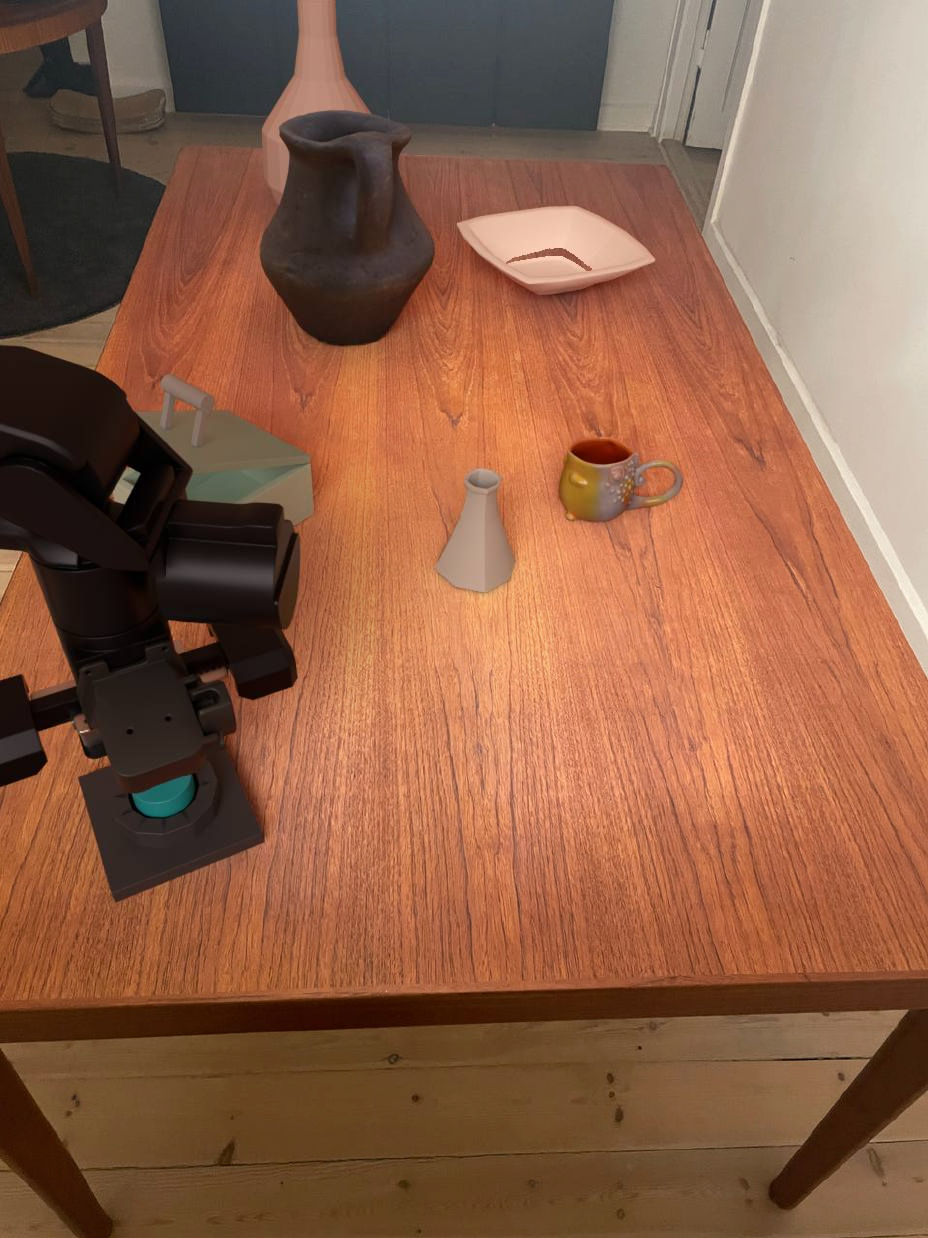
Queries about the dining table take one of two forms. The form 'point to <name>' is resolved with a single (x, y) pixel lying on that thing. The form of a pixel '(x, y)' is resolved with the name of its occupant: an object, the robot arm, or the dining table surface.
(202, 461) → the lid
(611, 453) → the mug
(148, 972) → the dining table surface
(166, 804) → the button
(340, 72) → the vase
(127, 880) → the panel
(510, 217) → the bowl
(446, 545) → the flask
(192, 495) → the gray-green storage box
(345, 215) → the pitcher
